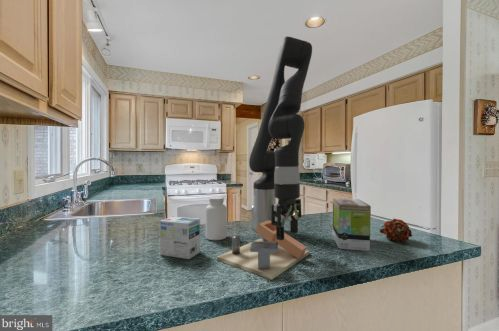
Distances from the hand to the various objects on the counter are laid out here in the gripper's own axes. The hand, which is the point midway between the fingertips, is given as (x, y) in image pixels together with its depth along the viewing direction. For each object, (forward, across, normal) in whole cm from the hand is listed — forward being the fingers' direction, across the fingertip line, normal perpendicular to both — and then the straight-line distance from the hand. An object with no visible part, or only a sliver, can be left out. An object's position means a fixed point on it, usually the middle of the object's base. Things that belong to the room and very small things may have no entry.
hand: (287, 236), depth 73 cm
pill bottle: (+6, 0, -30) cm, 31 cm away
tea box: (+7, -24, +11) cm, 28 cm away
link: (+3, 0, -3) cm, 4 cm away
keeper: (+5, +11, -1) cm, 12 cm away
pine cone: (+7, -37, +24) cm, 44 cm away
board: (+6, +4, -6) cm, 9 cm away
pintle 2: (+6, 0, -7) cm, 10 cm away
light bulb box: (+6, +18, -28) cm, 34 cm away
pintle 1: (+6, +9, -13) cm, 17 cm away
